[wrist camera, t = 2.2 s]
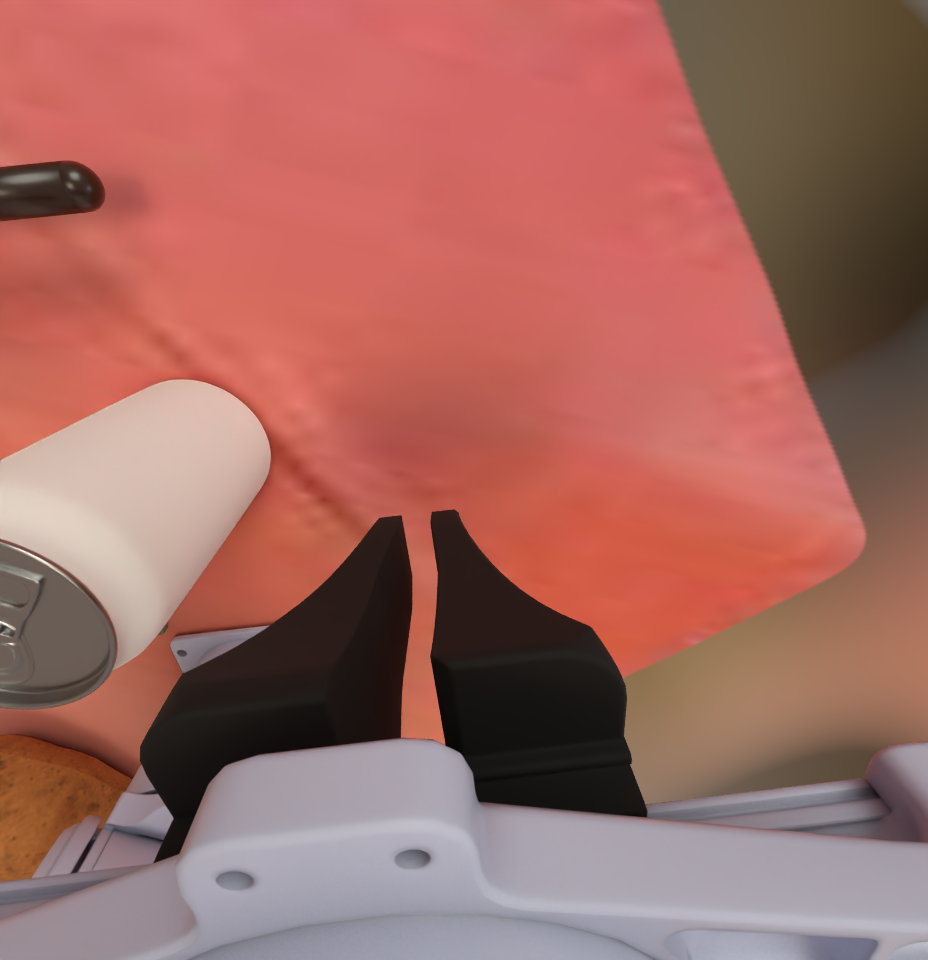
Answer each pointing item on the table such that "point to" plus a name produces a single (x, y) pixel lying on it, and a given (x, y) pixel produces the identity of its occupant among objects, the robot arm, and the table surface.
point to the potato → (47, 798)
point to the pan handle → (48, 190)
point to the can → (116, 532)
